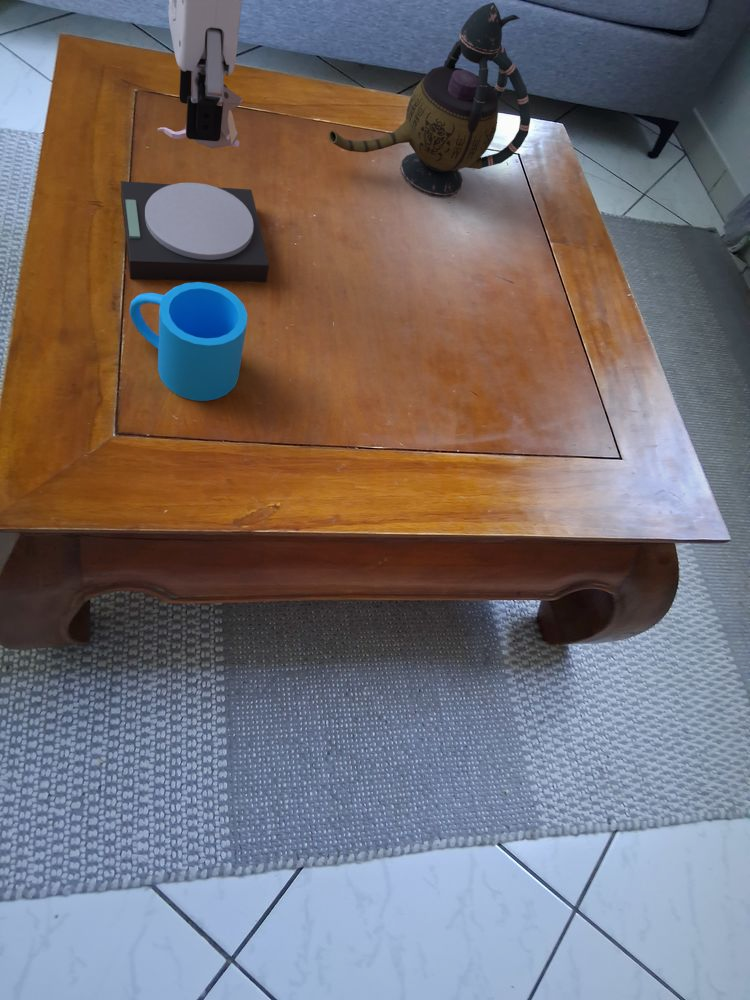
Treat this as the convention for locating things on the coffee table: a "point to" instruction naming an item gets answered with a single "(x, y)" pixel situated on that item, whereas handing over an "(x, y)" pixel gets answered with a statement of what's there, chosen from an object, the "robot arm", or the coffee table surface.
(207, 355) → the mug
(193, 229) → the kitchen scale
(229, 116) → the mouse figurine
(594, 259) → the coffee table surface
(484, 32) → the teapot
